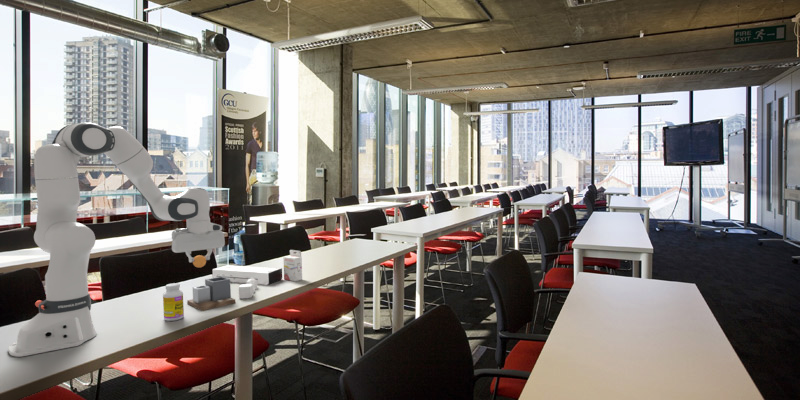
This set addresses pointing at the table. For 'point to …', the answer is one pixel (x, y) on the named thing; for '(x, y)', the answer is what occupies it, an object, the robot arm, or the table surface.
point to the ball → (199, 261)
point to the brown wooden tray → (211, 303)
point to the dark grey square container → (219, 288)
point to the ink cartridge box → (293, 266)
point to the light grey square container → (201, 294)
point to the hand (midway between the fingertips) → (199, 261)
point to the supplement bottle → (173, 302)
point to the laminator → (248, 274)
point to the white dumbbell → (248, 288)
